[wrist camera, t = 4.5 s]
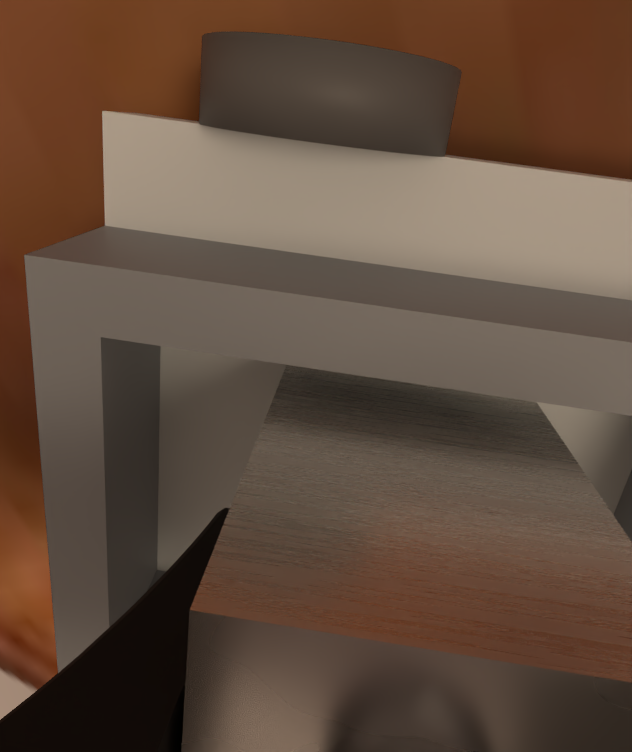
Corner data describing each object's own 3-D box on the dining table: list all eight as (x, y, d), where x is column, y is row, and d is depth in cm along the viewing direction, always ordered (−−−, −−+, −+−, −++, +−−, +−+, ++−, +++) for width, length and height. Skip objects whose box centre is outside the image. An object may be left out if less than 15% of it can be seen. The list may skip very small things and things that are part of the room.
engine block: (526, 387, 10) (820, 820, 3) (473, 577, 11) (608, 1127, 5) (291, 351, 10) (151, 706, 4) (268, 544, 11) (141, 1039, 5)
